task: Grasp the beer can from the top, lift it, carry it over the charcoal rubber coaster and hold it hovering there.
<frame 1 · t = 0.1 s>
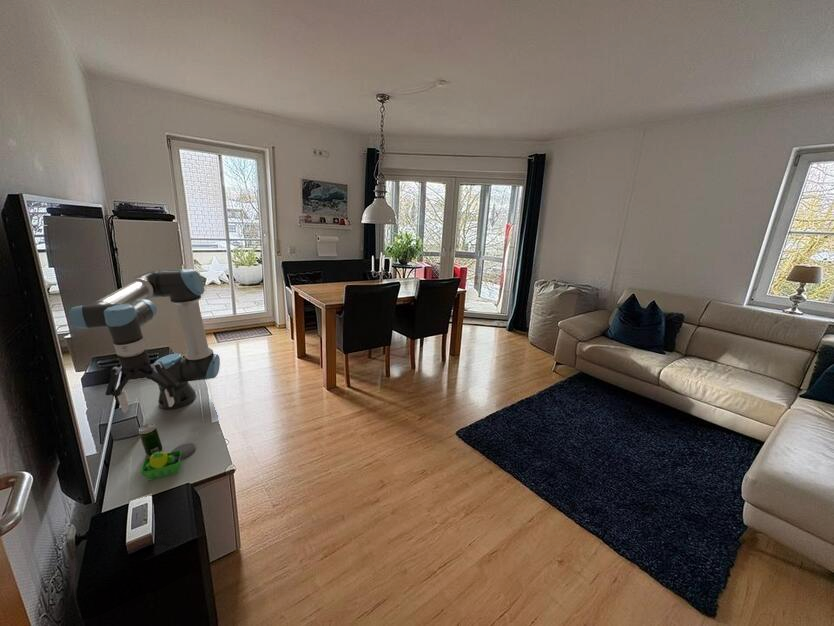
hand: (149, 407, 119), 28 cm above the tv stand, tool pointing down, fingers open, 13 cm apart
fruit basket: (164, 473, 128), on the tv stand
beer can: (154, 452, 138), on the tv stand
coaster: (183, 452, 137), on the tv stand
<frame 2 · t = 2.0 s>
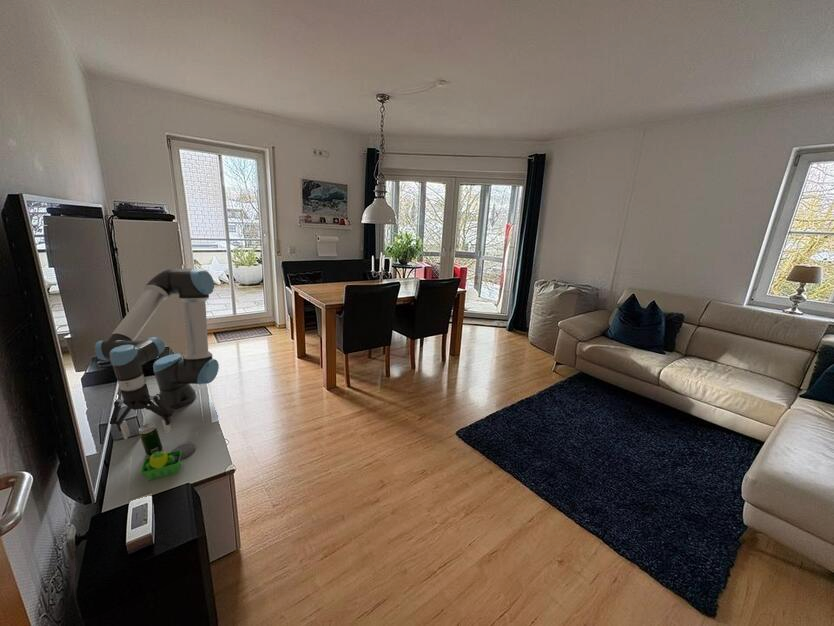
hand: (148, 434, 134), 9 cm above the tv stand, tool pointing down, fingers open, 13 cm apart
nothing on the tv stand moved.
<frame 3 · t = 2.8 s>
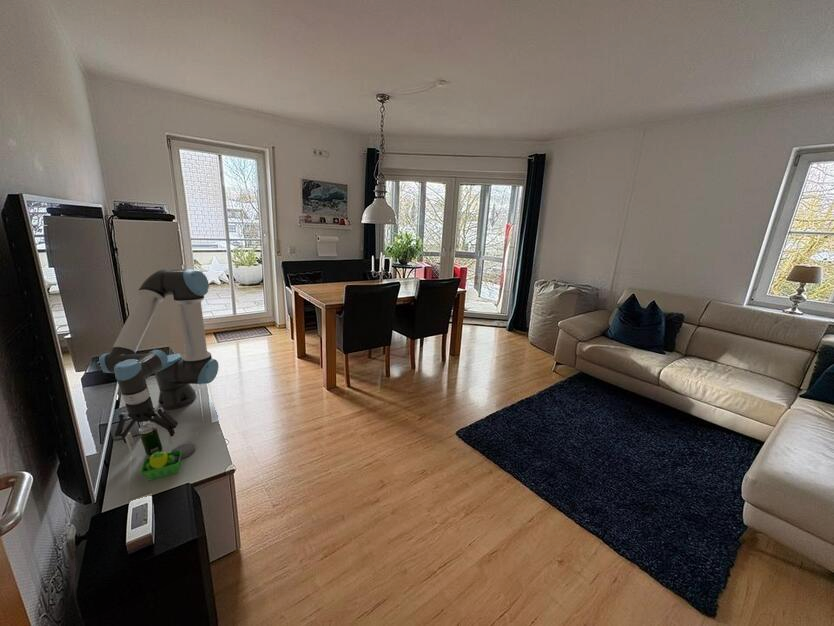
hand: (152, 445, 136), 3 cm above the tv stand, tool pointing down, fingers open, 13 cm apart
nothing on the tv stand moved.
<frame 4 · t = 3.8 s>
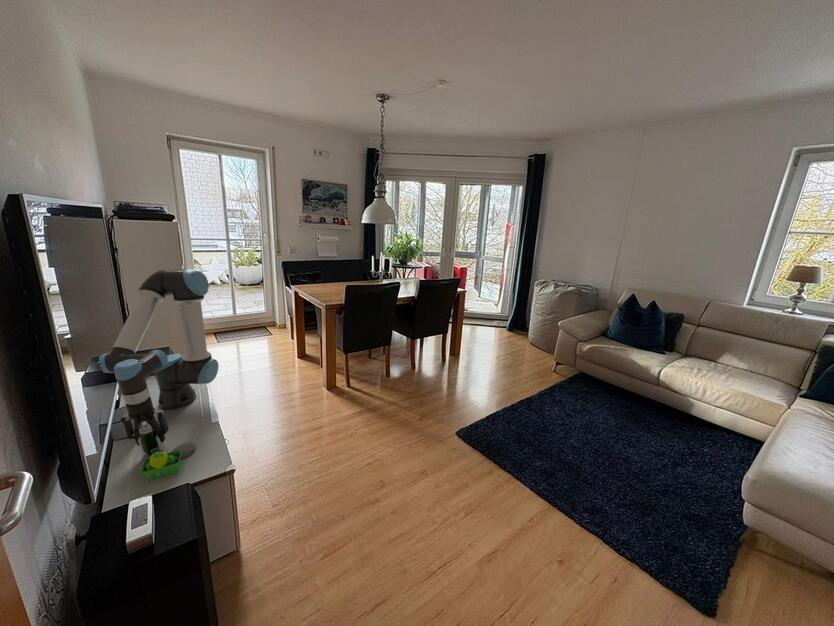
hand: (153, 449, 137), 1 cm above the tv stand, tool pointing down, fingers closed on beer can, 5 cm apart
beer can: (154, 452, 138), on the tv stand, touching gripper
everything else where it was.
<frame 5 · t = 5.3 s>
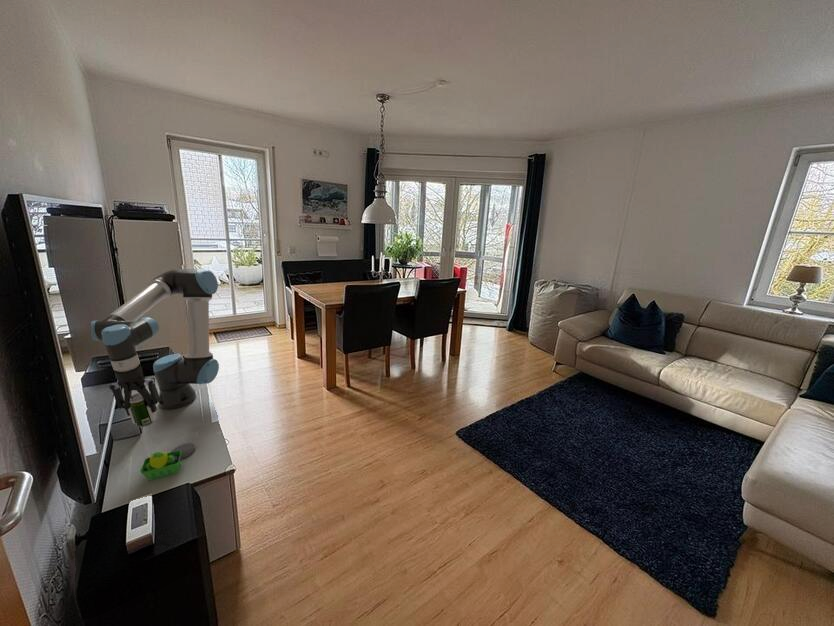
hand: (145, 420, 132), 15 cm above the tv stand, tool pointing down, fingers closed on beer can, 5 cm apart
beer can: (146, 423, 133), point 14 cm above the tv stand, touching gripper
everything else where it was.
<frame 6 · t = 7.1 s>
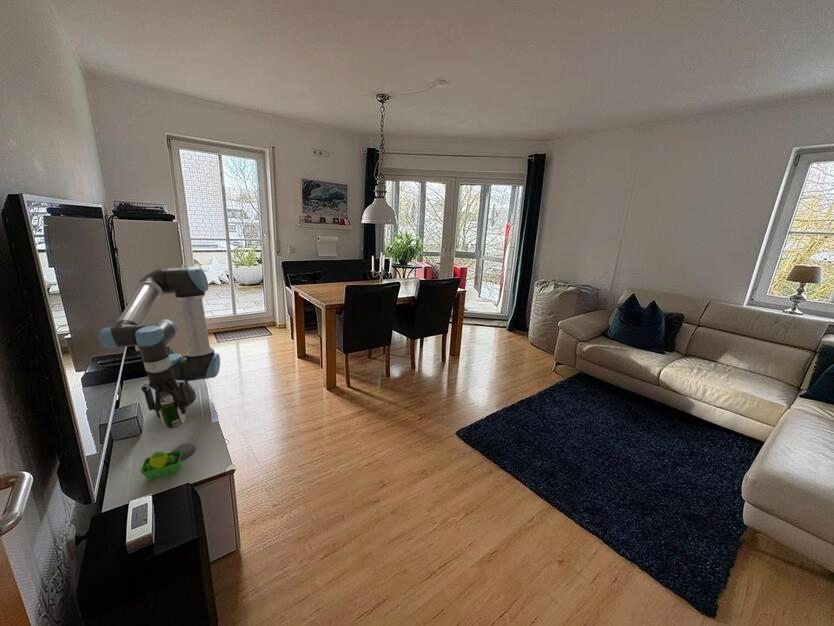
hand: (174, 421, 132), 15 cm above the tv stand, tool pointing down, fingers closed on beer can, 5 cm apart
beer can: (175, 425, 133), point 13 cm above the tv stand, touching gripper
everything else where it was.
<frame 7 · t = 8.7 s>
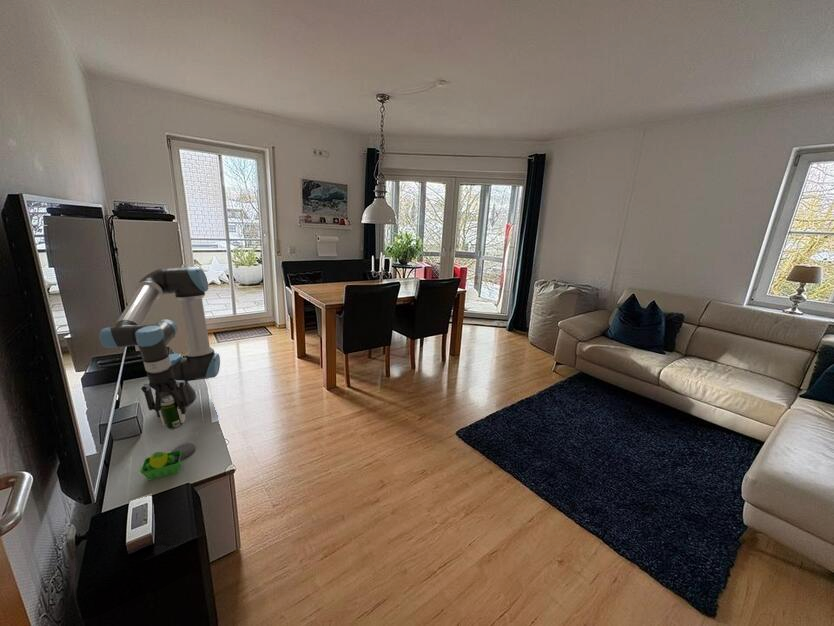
hand: (174, 421, 132), 15 cm above the tv stand, tool pointing down, fingers closed on beer can, 5 cm apart
beer can: (175, 425, 133), point 13 cm above the tv stand, touching gripper
everything else where it was.
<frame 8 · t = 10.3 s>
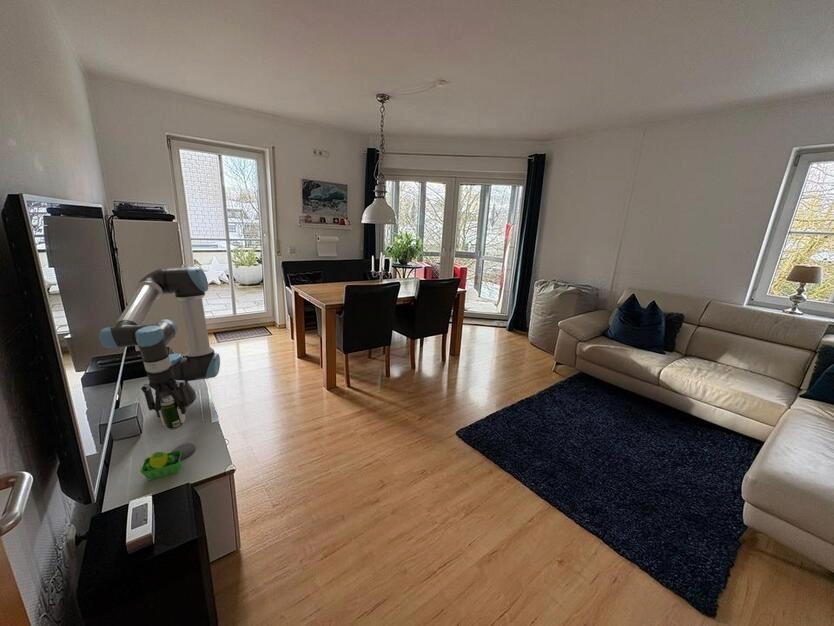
hand: (174, 421, 132), 15 cm above the tv stand, tool pointing down, fingers closed on beer can, 5 cm apart
beer can: (175, 425, 133), point 13 cm above the tv stand, touching gripper
everything else where it was.
at the end: the gripper is holding beer can; beer can point 12.8 cm above the tv stand; beer can 0.0 cm from the coaster (horizontally) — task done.
